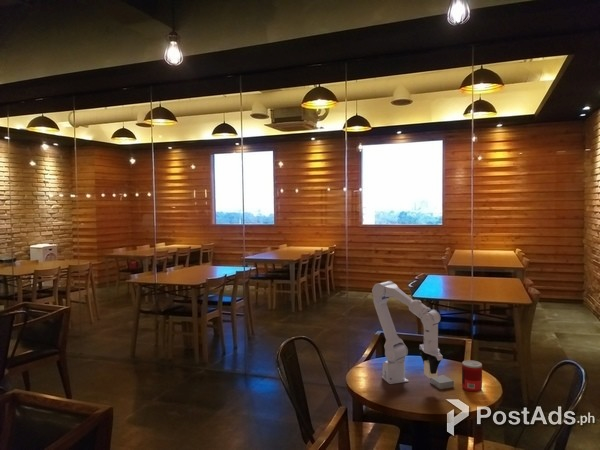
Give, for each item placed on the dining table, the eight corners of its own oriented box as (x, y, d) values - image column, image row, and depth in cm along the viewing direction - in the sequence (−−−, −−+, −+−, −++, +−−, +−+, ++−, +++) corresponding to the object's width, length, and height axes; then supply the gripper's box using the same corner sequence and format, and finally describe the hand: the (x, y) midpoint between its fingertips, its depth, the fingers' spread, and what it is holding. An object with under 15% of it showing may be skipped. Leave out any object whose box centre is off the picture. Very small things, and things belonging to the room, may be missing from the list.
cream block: (429, 378, 183) (429, 363, 183) (423, 374, 187) (424, 360, 186) (437, 376, 184) (437, 362, 184) (432, 373, 188) (432, 359, 188)
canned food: (485, 391, 185) (486, 365, 184) (469, 393, 183) (469, 367, 182) (473, 383, 192) (474, 359, 192) (458, 386, 190) (458, 361, 189)
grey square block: (439, 390, 187) (439, 383, 187) (430, 383, 194) (430, 377, 194) (453, 387, 189) (453, 380, 189) (443, 381, 196) (443, 374, 196)
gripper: (449, 344, 179) (449, 376, 179) (429, 333, 193) (429, 364, 193) (433, 345, 177) (433, 378, 177) (415, 335, 191) (415, 365, 191)
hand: (430, 371), depth 185 cm, fingers closed on cream block, 4 cm apart
